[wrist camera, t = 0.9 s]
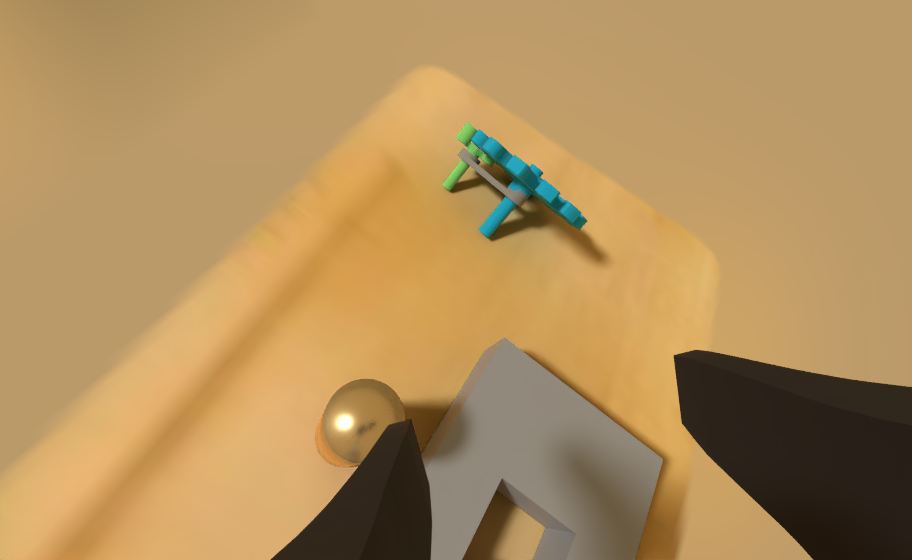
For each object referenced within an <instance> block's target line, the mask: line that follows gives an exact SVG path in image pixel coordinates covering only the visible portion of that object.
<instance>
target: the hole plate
mask: <svg viewBox="0 0 912 560" xmlns="http://www.w3.org/2000/svg"><path fill="white" fill-rule="evenodd" d="M421 456H422V460H423V463H424V467H425V470H426V474H427V478H428V481H429V485H430V497H431V510H432V543H431V560H462V559H463V557H464V555H465V553H466V550H467V548H468V546H469V544H470V542H471V540H472V538H473V536H474V534H475V532H476V530H477V528H478V526H479V524H480V522H481V520H482V518H483V516H484V514H485V512H486V510H487V508H488V505H489V503H490V501H491V499H492V497H493V495H494V493H495V491H496V490H497V491H498V492H499V493H501V494H502V495H503V496H505V497H506V498H507V499H509V500H510V501H511V502H513V503H514V504H515V505H517V506H518V507H519V508H521V509H522V510H523V511H525V512H526V513H527V514H529V515H530V516H531V517H533V518H534V519H535V520H536V521H538V522H539V523H540V524H542V525H543V526H544V527H546V528H545V531H544V533H543V536H542V538H541V541H540V543H539V546H538V548H537V551H536V553H535V556H534V558H533V560H635V559H636V555H637V552H638V548H639V544H640V541H641V537H642V534H643V530H644V527H645V523H646V520H647V516H648V512H649V509H650V505H651V502H652V498H653V495H654V491H655V487H656V484H657V480H658V477H659V473H660V470H661V466H662V463H663V459H662V458H661V457H660V456H658V455H657V454H656V453H655V452H653V451H652V450H651V449H649V448H648V447H647V446H645V445H644V444H643V443H642V442H640V441H639V440H638V439H636V438H635V437H634V436H632V435H631V434H630V433H628V432H627V431H626V430H625V429H623V428H622V427H621V426H619V425H618V424H617V423H615V422H614V421H613V420H612V419H610V418H609V417H608V416H606V415H605V414H604V413H602V412H601V411H600V410H598V409H597V408H596V407H595V406H593V405H592V404H591V403H589V402H588V401H587V400H585V399H584V398H583V397H582V396H580V395H579V394H578V393H576V392H575V391H574V390H572V389H571V388H570V387H569V386H567V385H566V384H565V383H563V382H562V381H561V380H559V379H558V378H557V377H555V376H554V375H553V374H552V373H550V372H549V371H548V370H546V369H545V368H544V367H542V366H541V365H540V364H539V363H537V362H536V361H535V360H533V359H532V358H531V357H529V356H528V355H527V354H525V353H524V352H523V351H522V350H520V349H519V348H518V347H516V346H515V345H514V344H512V343H511V342H510V341H509V340H507V339H506V338H503V339H502V340H500V341H499V342H497V343H496V344H494V345H493V346H491V347H490V348H488V349H486V350H485V351H484V353H483V354H482V356H481V358H480V359H479V361H478V363H477V364H476V366H475V367H474V369H473V371H472V372H471V374H470V376H469V377H468V379H467V380H466V382H465V384H464V385H463V387H462V388H461V390H460V392H459V393H458V395H457V397H456V398H455V400H454V401H453V403H452V405H451V406H450V408H449V410H448V411H447V413H446V414H445V416H444V418H443V419H442V421H441V423H440V424H439V426H438V427H437V429H436V431H435V432H434V434H433V436H432V437H431V439H430V440H429V442H428V444H427V445H426V447H425V449H424V450H423V452H422V453H421Z"/></svg>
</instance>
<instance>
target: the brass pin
mask: <svg viewBox="0 0 912 560" xmlns="http://www.w3.org/2000/svg"><path fill="white" fill-rule="evenodd" d="M401 421H405V412H404V408H403V405H402V402H401V400H400V398H399V397H398V395H397V394H396V392H395V391H394V390H393V389H392V388H390V387H389V386H388V385H386V384H384V383H382V382H380V381H377V380H373V379H360V380H355V381H352V382H350V383H348V384H346V385H344V386H343V387H341V388H340V389H339V390H338V391H337V392H336V393H335V394H334V395H333V396H332V398H331V399H330V401H329V403H328V404H327V406H326V409H325V411H324V413H323V415H322V417H321V420H320V422H319V424H318V426H317V430H316V435H315V441H316V446H317V449H318V452H319V454H320V455H321V456H322V458H323V459H324V460H325V461H327V462H328V463H330V464H332V465H334V466H337V467H349V466H355V465H360V464H361V463H362V461H363V460H364V458H365V457H366V456H367V454H368V453H369V452H370V450H371V449H372V447H373V446H374V444H375V443H376V442H377V440H378V439H379V437H380V436H381V434H382V433H383V432H384V430H385V429H386V428H387V426H388V425H389V424H393V423H397V422H401Z"/></svg>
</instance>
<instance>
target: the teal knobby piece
mask: <svg viewBox="0 0 912 560" xmlns="http://www.w3.org/2000/svg"><path fill="white" fill-rule="evenodd" d="M456 138H457V139H458V140H459V141H461V142H462V143H463V144H464V145H465V146H467V147H468V149H467V150H466V149H465V148H463V149H462V150H461V151H460V153H459V154H458V156H459V157H460V158H461V159H462V160H461V161H460V163H459V164H458V165H457V167H456V168H455V169H454V171H453V172H452V173H451V174H450V176H449V177H448V178H447V180H446V181H445V182H444V184H443V186H444V187H445V188H446V189H448V190H449V191H451V189H452V188H453V187H454V185H455V184H456V183H457V182H458V180H459V179H460V178H461V176H462V175H463V174H464V172H465V171H466V170H467V169H468V167H469V166H471V167H472V168H473V169H474V170H476V171H477V172H478V173H479V174H480V175H482V176H483V177H484V178H485V179H486V180H488V181H489V182H490V183H491V184H492V185H494V186H495V187H496V188H497V189H498V190H500V191H501V192H502V193H503V194H504V195H506V196H505V198H504V199H503V200H502V201H501V203H500V204H499V205H498V206H497V207H496V209H495V210H494V211H493V212H492V214H491V215H490V216H489V217H488V218H487V220H486V221H485V222H484V223H483V225H482V226H481V227H480V228H479V231H480V232H482V233H483V234H484V235H485V236H486V237H488V238H490V237H491V235H492V234H493V233H494V232H495V231H496V229H497V228H498V227H499V226H500V225H501V223H502V222H503V221H504V220H505V219H506V217H507V216H508V215H509V214H510V213H511V211H512V210H513V209H514V208H515V207H516V205H518V206H519V207H521V206H522V205H523V204H524V202H525V201H526V200H527V199H528V198H529V197H530V195H532V196H535V197H536V198H537V199H540V200H541V201H542V202H543V203H544V204H545V205H546V206H547V207H549V208H550V209H551V210H552V211H553V212H555V213H556V214H557V215H560V216H561V217H562V218H563V219H564V220H565V221H567V222H568V223H569V224H570V225H572V226H574V227H576V228H577V229H578V230H580V229H581V228H582V226H583V225H584V224H585V223H586V222H587V220H586V219H585V218H584V217H583V216H582V215H581V212H580V211H579V210H578V209H577V208H576V207H575V206H573V205H572V204H571V203H570V202H568V201H567V200H564V199H562V198H561V197H560V196H559V194H560V192H559V191H558V190H556V189H555V188H554V187H553V186H552V185H550V184H549V183H548V182H547V181H546V180H542V179H541V178H540V177H541V175H542V174H543V172H542V171H541V170H540V169H538V168H537V167H536V166H535V165H533V164H532V165H531V166H530V167H529V166H528V165H527V164H526V163H525V162H523V161H522V160H521V159H519V158H518V157H517V156H515V155H514V156H512V155H511V154H510V153H509V152H508V151H507V150H506V149H505V148H504V147H503V146H502V145H501V144H500V143H499V142H497V141H496V140H495V139H493V138H492V137H490V138H489V137H488V136H487V135H486V134H484V133H483V132H482V131H481V130H480V129H479V130H478V131H477V130H476V129H475V128H474V127H473V126H472V125H470V124H469V123H468V122H467V123H466V124H465V126H464V127H463V128H462V130H461V131H460V132H459V134H458V135H457V136H456ZM471 141H472V142H473V143H474V144H475V145H476V146H477V147H478V148H479V149H481V150H482V151H483V152H484V153H483V152H482V151H481V150H479V149H478V148H477V147H476V146H475V145H473V144H472V143H471ZM479 157H480V158H481V159H482V160H483V161H484V162H486V163H487V164H488V165H489V166H490V167H492V165H493V164H494V163H496V164H498V165H500V166H501V167H502V168H503V169H504V171H505V172H506V173H507V174H508V175H510V176H511V177H512V179H513V181H512V182H511V184H510V185H509V186H508V187H507V188H505V187H504V186H503V185H502V184H500V183H499V182H498V181H497V180H496V179H494V178H493V177H492V176H491V175H490V174H488V173H487V172H486V171H485V170H484V169H482V168H481V167H480V166H479V163H480V161H479V160H478V158H479Z"/></svg>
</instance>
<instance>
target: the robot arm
mask: <svg viewBox="0 0 912 560" xmlns="http://www.w3.org/2000/svg"><path fill="white" fill-rule="evenodd" d="M674 362H675V370H676V379H677V387H678V395H679V403H680V411H681V419H682V424H683V425H684V426H685V428H686V429H687V430H688V431H689V433H690V434H691V435H692V437H693V438H694V439H695V440H696V442H697V443H698V444H699V445H700V446H701V448H702V449H703V450H704V451H705V452H706V454H707V455H708V456H709V457H710V458H711V459H712V460H713V461H714V462H715V463H716V464H717V465H718V466H720V467H721V468H722V469H723V470H724V471H725V472H726V473H727V474H728V475H729V476H730V477H731V478H732V479H733V480H734V481H735V482H736V483H737V484H738V485H739V486H740V487H741V488H742V489H743V490H745V492H747V493H748V494H749V495H750V496H751V497H752V498H753V499H754V500H755V501H756V502H757V503H758V504H759V505H760V506H761V507H762V508H763V509H764V510H765V511H767V512H768V513H769V514H770V515H771V516H772V517H773V518H774V519H775V520H776V521H777V522H778V523H779V524H780V525H781V526H782V527H783V528H785V530H786V531H787V532H788V533H789V534H790V535H791V536H792V537H793V538H794V539H795V540H796V541H797V542H798V543H799V544H800V545H801V546H802V547H803V548H804V550H805V551H806V552H807V553H808V554H809V555H810V556H811V558H813V560H912V387H905V386H897V385H888V384H881V383H872V382H865V381H858V380H851V379H845V378H838V377H833V376H828V375H822V374H816V373H811V372H805V371H800V370H795V369H790V368H785V367H781V366H776V365H771V364H766V363H762V362H758V361H753V360H748V359H744V358H739V357H735V356H730V355H725V354H720V353H714V352H709V351H701V350H694V351H689V352H685V353H681V354H677V355H674ZM431 543H432V510H431V497H430V485H429V481H428V478H427V474H426V470H425V467H424V463H423V460H422V456H421V453H420V449H419V445H418V442H417V438H416V435H415V431H414V427H413V424H412V420H411V419H410V420H406V421H401V422H397V423H393V424H389V425H388V426H387V428H386V429H385V430H384V432H383V433H382V434H381V436H380V437H379V439H378V440H377V442H376V443H375V444H374V446H373V447H372V449H371V450H370V452H369V453H368V454H367V456H366V457H365V458H364V460H363V461H362V463H361V464H360V465H359V467H358V468H357V469H356V471H355V472H354V473H353V474H352V476H351V477H350V478H349V479H348V481H347V482H346V483H345V484H344V485H343V487H342V488H341V489H340V490H339V492H338V493H337V494H336V495H335V496H334V498H333V499H332V500H331V501H330V502H329V503H328V505H327V506H326V507H325V508H324V509H323V510H322V511H321V512H320V513H319V514H318V515H317V517H316V518H315V519H314V520H313V521H312V522H311V523H310V524H309V525H308V526H307V527H306V528H305V529H304V530H303V531H302V532H301V533H300V534H299V535H298V536H297V537H295V538H294V539H293V540H292V541H291V542H290V543H289V544H288V545H287V546H285V547H284V548H283V549H282V550H281V551H280V552H279V553H277V554H276V555H275V556H274V557H273V558H272V559H271V560H431Z"/></svg>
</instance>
